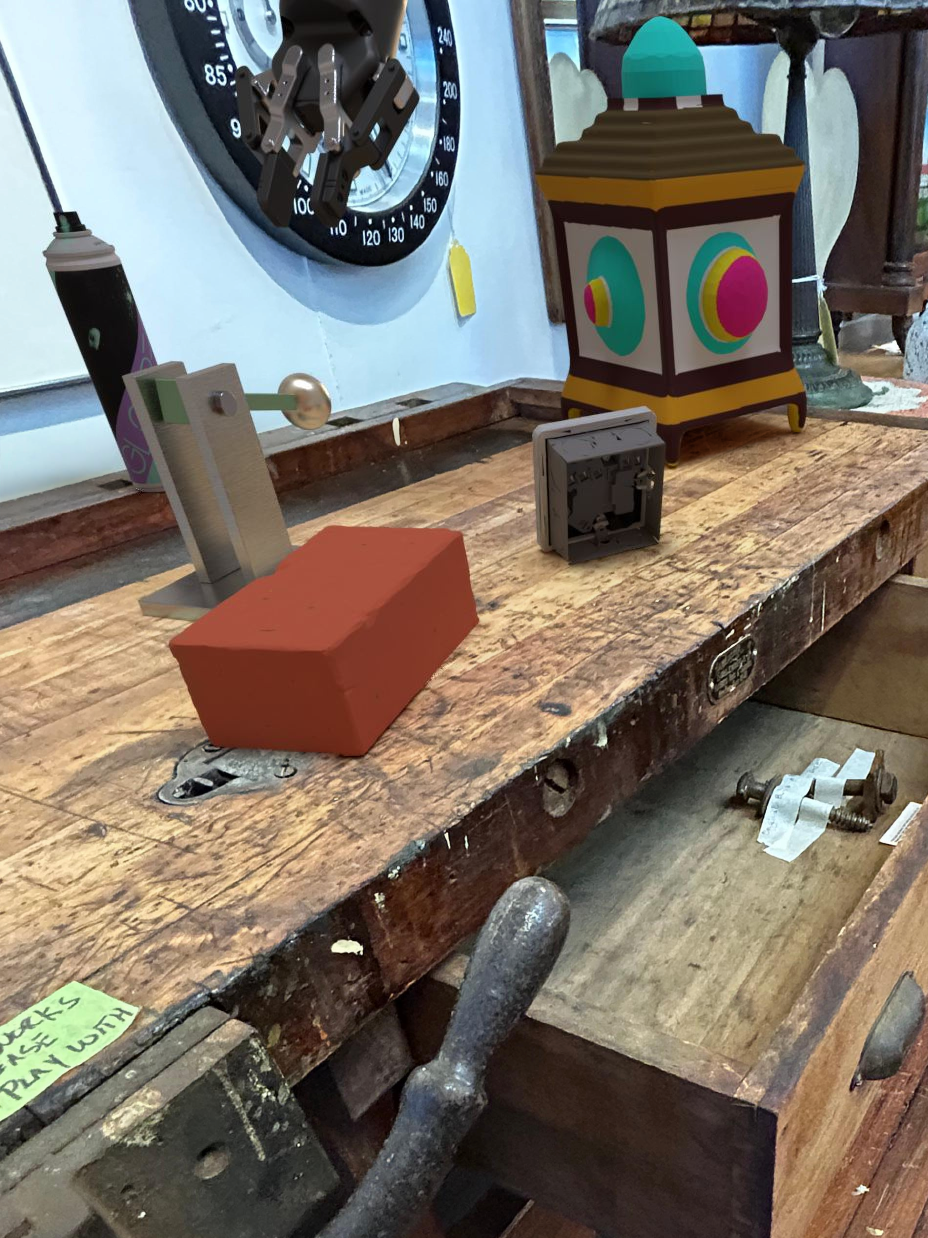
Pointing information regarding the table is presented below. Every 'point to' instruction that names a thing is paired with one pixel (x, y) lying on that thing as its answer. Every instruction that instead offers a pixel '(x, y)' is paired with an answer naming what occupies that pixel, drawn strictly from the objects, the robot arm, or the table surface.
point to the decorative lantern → (675, 250)
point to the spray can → (104, 333)
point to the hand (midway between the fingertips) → (298, 217)
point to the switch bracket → (210, 487)
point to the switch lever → (264, 401)
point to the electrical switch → (598, 483)
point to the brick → (329, 640)
